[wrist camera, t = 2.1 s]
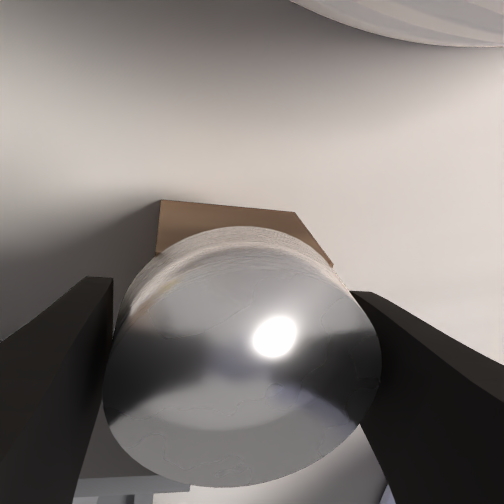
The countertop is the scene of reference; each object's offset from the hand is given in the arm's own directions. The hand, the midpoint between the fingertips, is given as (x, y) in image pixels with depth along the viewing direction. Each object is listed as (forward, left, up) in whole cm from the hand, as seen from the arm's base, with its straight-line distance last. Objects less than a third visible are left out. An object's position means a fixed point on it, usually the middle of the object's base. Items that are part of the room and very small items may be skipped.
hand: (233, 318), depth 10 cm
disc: (0, 0, +1) cm, 1 cm away
